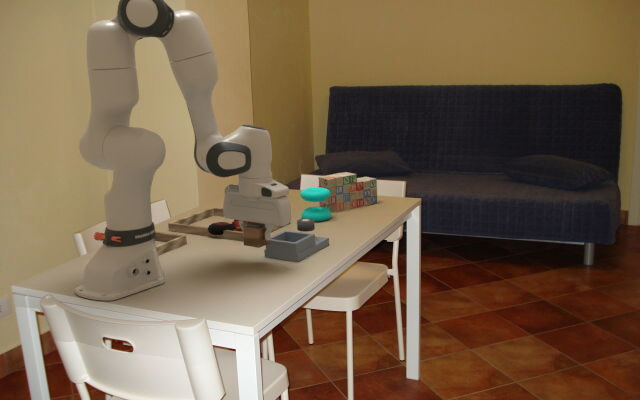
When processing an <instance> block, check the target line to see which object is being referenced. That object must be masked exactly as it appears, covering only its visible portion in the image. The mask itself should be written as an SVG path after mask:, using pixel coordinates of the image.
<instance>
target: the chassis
mask: <svg viewBox="0 0 640 400" xmlns="http://www.w3.org/2000/svg"><path fill="white" fill-rule="evenodd" d="M329 245H330V238H329V237H323V236H316V234H314V233H308V232H303V231H294V230H287V229H286V230H283V231H281V232H278V233H277V234H274V235H272V236H271V238H270V244H268V245H265V248H264V249H263V251H264V257H265V258H270V259H277V260H284V261H291V262H301V261H302V260H305V259H306V258H308V257H310V256H312V255H313V254H315V253H317V252H319V251H320V250H323V249H324V248H326V247H328V246H329Z"/></svg>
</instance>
